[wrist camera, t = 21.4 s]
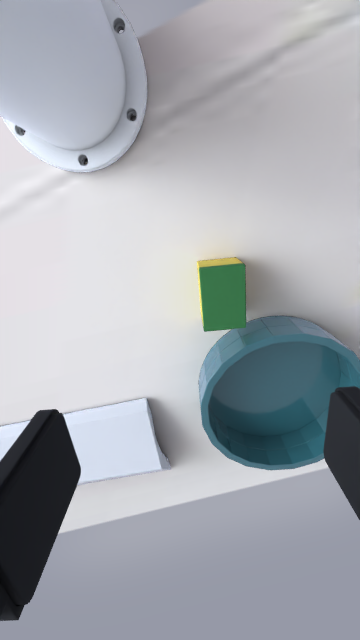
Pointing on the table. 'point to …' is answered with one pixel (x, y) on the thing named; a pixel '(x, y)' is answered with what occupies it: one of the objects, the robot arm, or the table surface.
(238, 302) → the sponge
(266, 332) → the bowl
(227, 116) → the table surface
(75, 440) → the crown molding
